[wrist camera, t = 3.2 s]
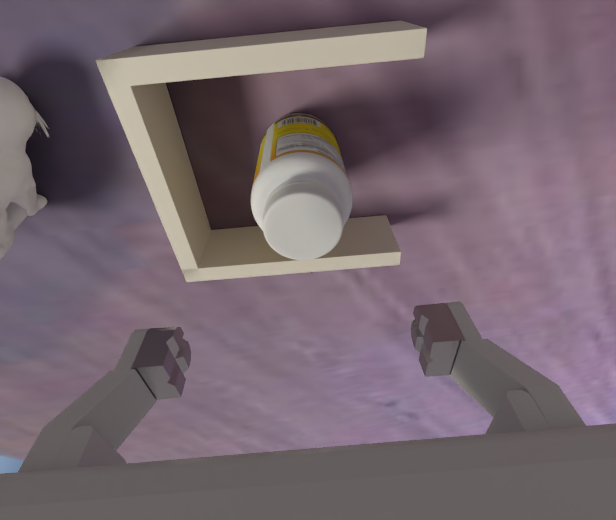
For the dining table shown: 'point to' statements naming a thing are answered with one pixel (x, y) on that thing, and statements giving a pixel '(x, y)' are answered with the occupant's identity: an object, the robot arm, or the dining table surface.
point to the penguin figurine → (16, 161)
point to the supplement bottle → (301, 188)
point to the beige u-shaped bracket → (175, 162)
